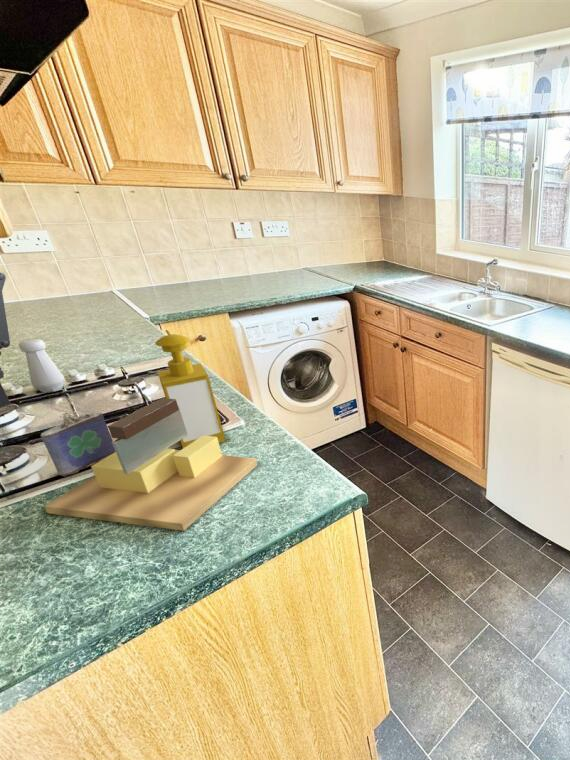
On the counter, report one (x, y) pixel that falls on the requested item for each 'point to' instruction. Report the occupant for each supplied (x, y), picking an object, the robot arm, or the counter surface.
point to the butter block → (135, 473)
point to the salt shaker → (41, 366)
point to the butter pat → (197, 456)
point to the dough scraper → (147, 433)
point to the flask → (78, 442)
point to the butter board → (156, 497)
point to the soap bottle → (189, 391)
